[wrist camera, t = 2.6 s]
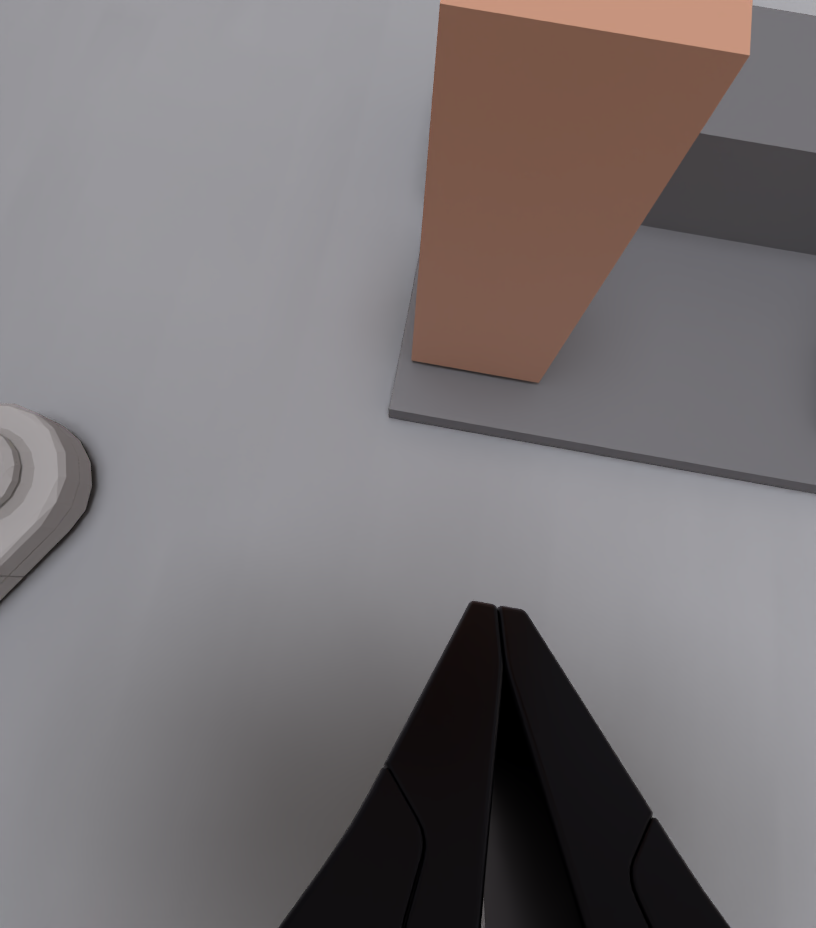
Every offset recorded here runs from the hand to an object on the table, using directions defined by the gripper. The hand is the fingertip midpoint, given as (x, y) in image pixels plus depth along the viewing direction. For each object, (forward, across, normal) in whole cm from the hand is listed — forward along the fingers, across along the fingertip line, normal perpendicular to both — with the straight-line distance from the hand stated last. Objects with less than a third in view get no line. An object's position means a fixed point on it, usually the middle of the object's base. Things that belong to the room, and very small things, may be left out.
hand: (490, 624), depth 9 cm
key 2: (+17, 0, 0) cm, 17 cm away
